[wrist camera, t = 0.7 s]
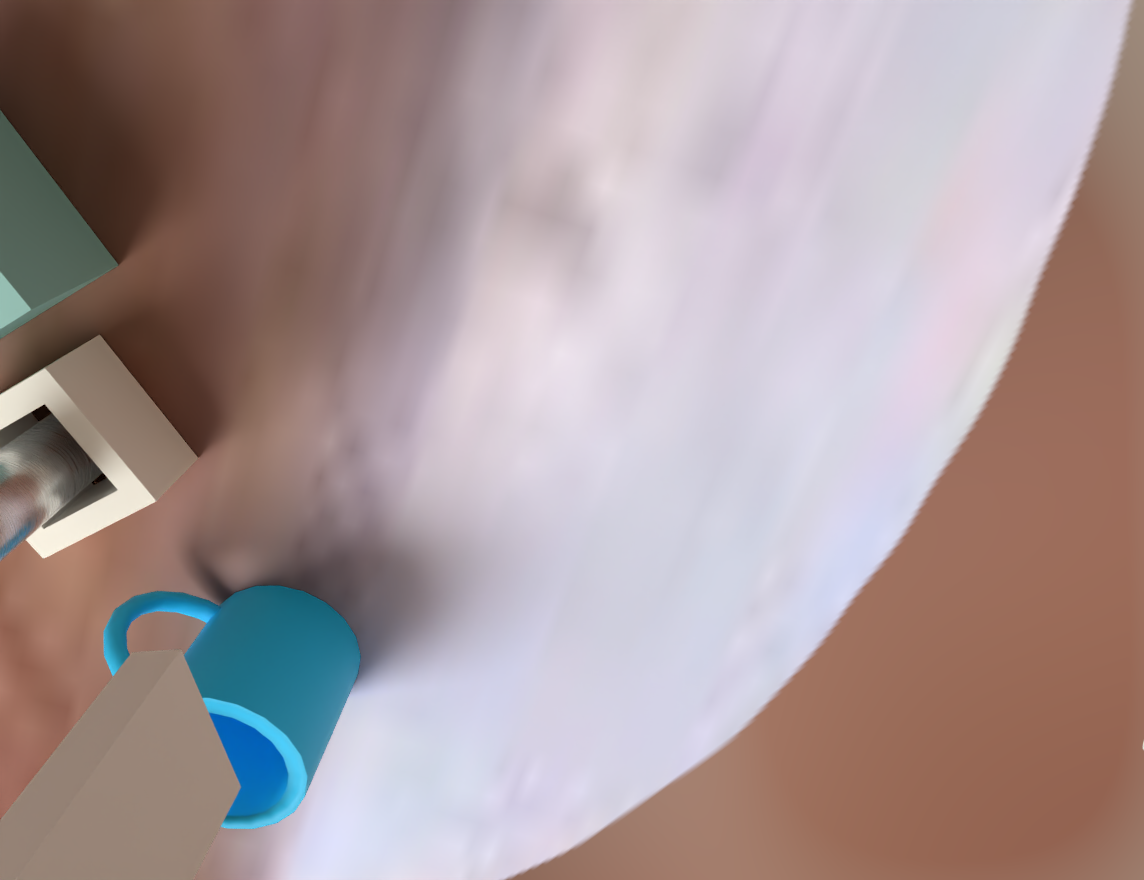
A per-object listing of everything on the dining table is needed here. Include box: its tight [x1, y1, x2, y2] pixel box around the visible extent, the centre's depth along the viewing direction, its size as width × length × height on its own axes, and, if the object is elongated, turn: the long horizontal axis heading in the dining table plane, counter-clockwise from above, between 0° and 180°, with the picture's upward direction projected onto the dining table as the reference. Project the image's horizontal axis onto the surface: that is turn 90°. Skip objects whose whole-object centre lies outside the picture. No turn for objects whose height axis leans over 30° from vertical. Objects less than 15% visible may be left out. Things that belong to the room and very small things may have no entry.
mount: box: [0, 335, 198, 559], centre depth 40 cm, size 7×7×4 cm
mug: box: [104, 585, 361, 829], centre depth 43 cm, size 12×8×8 cm
